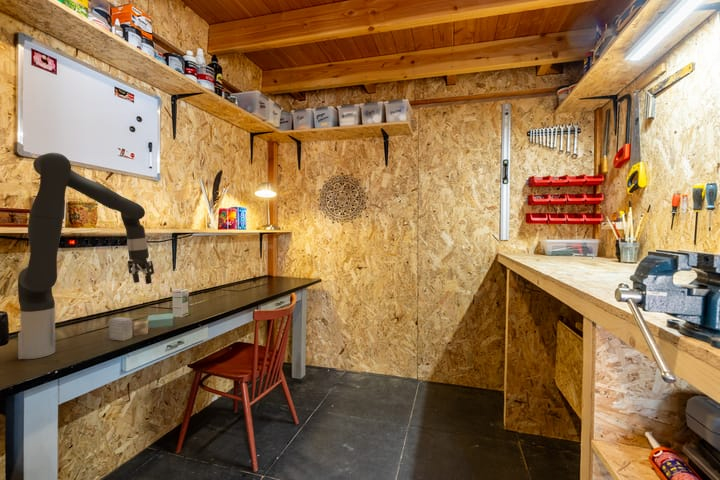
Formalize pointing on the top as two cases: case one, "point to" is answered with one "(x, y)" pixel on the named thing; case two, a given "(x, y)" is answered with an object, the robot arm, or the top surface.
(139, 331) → the birch cube
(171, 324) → the teal block
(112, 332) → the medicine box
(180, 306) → the syrup box
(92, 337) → the top surface
